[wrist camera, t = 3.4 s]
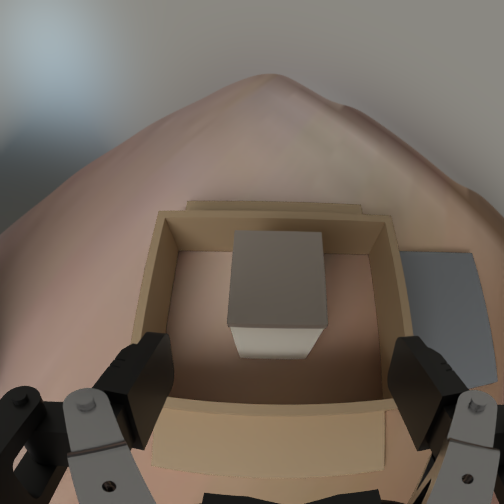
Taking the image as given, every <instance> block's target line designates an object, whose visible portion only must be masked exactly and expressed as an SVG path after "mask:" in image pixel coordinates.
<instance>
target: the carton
mask: <svg viewBox="0 0 504 504" xmlns="http://www.w3.org/2000/svg"><path fill="white" fill-rule="evenodd" d="M235 230H249V231H299V232H322V243H323V253H325V254H369V260H370V267H371V274H372V281H373V288H374V296H375V304H376V313H377V323H378V333H379V344H380V357H381V373H382V394H383V400H374V401H363V402H350V403H333V404H305V405H270V404H241V403H224V402H211V401H200V400H190V399H181V398H172V397H167V399H166V402H165V404H164V406H163V408H162V411H161V413H160V415H159V417H158V420H157V422H156V424H155V426H154V432H153V446H152V462H151V466H155V467H160V468H165V469H171V470H177V471H184V472H191V473H198V474H207V475H217V476H228V477H243V478H315V477H330V476H341V475H351V474H359V473H367V472H374V471H380V470H384V451H385V412H384V411H389V410H395V409H398V408H397V405H396V403H395V401H394V399H393V397H392V395H391V393H390V391H389V388H388V383H387V376H388V371H389V367H390V363H391V359H392V355H393V350H394V346H395V342H396V340H397V338H398V337H405V336H413V329H412V321H411V314H410V307H409V301H408V295H407V289H406V283H405V278H404V272H403V267H402V262H401V257H400V252H399V248H398V243H397V239H396V235H395V230H394V226H393V222H392V218H391V216H386V215H367V214H362V209H361V205H354V204H333V203H307V202H267V201H187V206H186V211H159V212H158V216H157V220H156V224H155V228H154V232H153V236H152V240H151V244H150V248H149V253H148V257H147V261H146V266H145V270H144V275H143V280H142V285H141V290H140V295H139V300H138V305H137V310H136V316H135V321H134V327H133V333H132V339H131V344H132V343H133V344H138V342H139V341H140V340H141V338H142V337H143V336H144V334H145V333H146V332H157V333H166V326H167V319H168V312H169V306H170V299H171V293H172V287H173V281H174V275H175V269H176V263H177V258H178V252H179V251H226V252H233V244H234V232H235Z"/></svg>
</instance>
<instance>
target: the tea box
mask: <svg viewBox="0 0 504 504" xmlns="http://www.w3.org/2000/svg"><path fill="white" fill-rule="evenodd" d="M227 324H228V327H230V329H231V332H232V335H233V338H234V341H235V344H236V347H237V350H238V353H239V356H240V358H253V359H306V357H307V356H308V354H309V352H310V351H311V349H312V348H313V346H314V344H315V343H316V341H317V339H318V338H319V336H320V334H321V333H322V331H323V329H326V327H327V325H328V316H327V298H326V282H325V268H324V255H323V243H322V232H299V231H249V230H235V232H234V244H233V255H232V267H231V279H230V292H229V304H228V317H227Z"/></svg>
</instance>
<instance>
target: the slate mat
mask: <svg viewBox="0 0 504 504" xmlns="http://www.w3.org/2000/svg"><path fill="white" fill-rule="evenodd" d="M399 252H400V257H401V262H402V267H403V272H404V278H405V283H406V289H407V295H408V301H409V307H410V314H411V321H412V329H413V336H419V337H420V338H421V339H422V341H423V342H424V343H425V344H426V346H427V347H428V348H432V349H433V350H435V351H436V352H438V353H440V354H441V355H442V356H443V358H444V359H445V360H446V361H447V364H449V365H450V366H451V367H452V370H454V371H455V372H456V374H457V375H458V376H459V377H460V379H461V380H462V381H463V383H464V384H465V385H466V386H467V388H468V389H470V388H474V387H479V386H483V385H487V384H491V383H494V382H497V381H498V380H497V370H496V362H495V354H494V348H493V341H492V335H491V330H490V324H489V319H488V314H487V309H486V305H485V300H484V296H483V292H482V288H481V284H480V280H479V276H478V272H477V269H476V265H475V262H474V258H473V255H472V253H449V252H409V251H399Z"/></svg>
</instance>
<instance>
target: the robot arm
mask: <svg viewBox="0 0 504 504" xmlns="http://www.w3.org/2000/svg"><path fill="white" fill-rule="evenodd" d="M173 381H174V367H173V360H172V352H171V344H170V338H169V335H168V334H167V333H157V332H146V333H145V334H144V336H143V337H142V338H141V340H140V341H139V342H138V344H133V343H132V344H131V345H129V346H127V347H126V348H124V349H122V350H121V351H120V353H119V354H118V355H117V356H116V358H115V360H113V362H112V363H111V364H110V367H108V368H107V369H106V370H105V372H104V373H103V374H102V376H101V377H100V378H99V380H98V381H97V382H96V383H95V385H94V386H93V387H92V388H84V389H79V390H76V391H74V392H72V393H71V394H69V395H68V396H67V397H66V398H65V400H64V402H47V401H43V400H42V398H41V396H40V393H39V392H38V390H37V389H35V388H33V387H30V386H20V387H16V388H13V389H11V390H10V391H8V392H7V393H6V394H5V395H4V396H3V397H2V398H1V399H0V504H49V502H50V500H51V498H52V496H53V494H54V492H55V490H56V488H57V486H58V484H59V482H60V481H61V479H62V477H63V475H64V473H65V471H66V469H67V467H69V468H70V472H71V476H72V480H73V484H74V487H75V491H76V495H77V498H78V501H79V504H156V502H155V500H154V499H153V497H152V495H151V493H150V491H149V489H148V487H147V485H146V483H145V481H144V479H143V477H142V475H141V473H140V471H139V469H138V467H137V465H136V463H135V461H134V459H133V456H132V454H131V452H130V451H131V449H132V448H136V449H140V450H144V449H145V447H146V445H147V442H148V440H149V438H150V436H151V433H152V431H153V429H154V426H155V424H156V422H157V420H158V417H159V415H160V413H161V411H162V408H163V406H164V404H165V402H166V399H167V397H168V395H169V393H170V390H171V388H172V385H173ZM387 383H388V388H389V391H390V393H391V395H392V397H393V399H394V401H395V403H396V405H397V408H398V410H399V412H400V414H401V416H402V418H403V420H404V423H405V425H406V427H407V429H408V431H409V434H410V436H411V438H412V440H413V443H414V445H415V447H416V449H417V451H422V450H426V449H431V451H432V453H431V455H430V457H429V459H428V461H427V463H426V466H425V468H424V471H423V473H422V475H421V477H420V480H419V482H418V484H417V486H416V488H415V490H414V492H413V495H412V497H411V498H410V500H409V502H408V504H491V500H492V496H493V491H494V492H495V494H496V497H497V499H498V501H499V504H504V405H497V403H496V401H495V400H494V399H493V398H492V397H491V396H490V395H489V394H487V393H485V392H482V391H478V390H469V389H468V388H467V386H466V385H465V384H464V383H463V381H462V380H461V379H460V377H459V376H458V375H457V374H456V372H455V371H454V370H452V367H451V366H450V365H449V364H447V361H446V360H445V359H444V358H443V356H442V355H441V354H440V353H438V352H436V351H435V350H433V349H432V348H428V347H427V346H426V344H425V343H424V342H423V341H422V339H421V338H420V337H419V336H405V337H398V338H397V340H396V342H395V346H394V350H393V355H392V359H391V363H390V367H389V371H388V376H387ZM23 446H25V448H26V449H27V452H26V453H25V455H24V456H23V458H22V459H21V461H20V463H19V464H18V466H17V467H16V469H15V470H14V472H13V462H14V459H15V458H16V456H17V455H18V453H19V452H20V450H21V449H22V448H23ZM201 504H279V503H274V502H269V501H264V500H260V499H256V498H251V497H246V496H231V495H220V494H210V493H204V496H203V501H202V503H201ZM306 504H404V503H400V502H395V501H389V500H381V498H380V495H379V491H378V489H377V490H370V491H364V492H356V493H348V494H339V495H335V496H332V497H328V498H325V499H321V500H317V501H314V502H310V503H306Z"/></svg>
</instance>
